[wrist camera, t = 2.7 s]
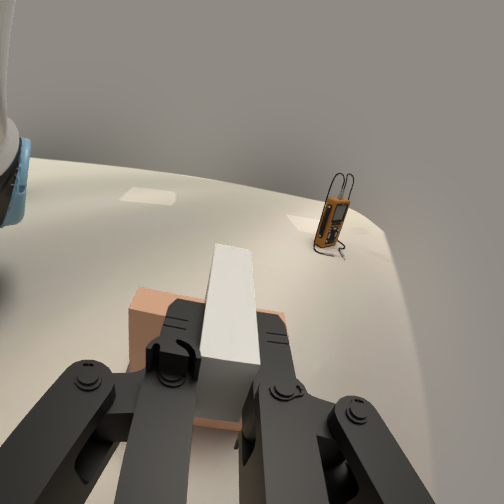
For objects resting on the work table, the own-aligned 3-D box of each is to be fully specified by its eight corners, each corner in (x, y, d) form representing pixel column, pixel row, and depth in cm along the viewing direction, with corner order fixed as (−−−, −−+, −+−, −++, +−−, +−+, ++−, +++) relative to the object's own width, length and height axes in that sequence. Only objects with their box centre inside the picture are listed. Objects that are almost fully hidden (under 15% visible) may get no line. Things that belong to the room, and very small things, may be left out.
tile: (248, 431, 29) (288, 336, 23) (133, 413, 27) (128, 308, 21) (247, 408, 32) (283, 310, 26) (139, 390, 30) (139, 284, 24)
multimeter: (335, 264, 73) (363, 184, 65) (304, 245, 79) (327, 169, 71) (363, 255, 83) (387, 187, 74) (335, 239, 89) (356, 173, 81)
